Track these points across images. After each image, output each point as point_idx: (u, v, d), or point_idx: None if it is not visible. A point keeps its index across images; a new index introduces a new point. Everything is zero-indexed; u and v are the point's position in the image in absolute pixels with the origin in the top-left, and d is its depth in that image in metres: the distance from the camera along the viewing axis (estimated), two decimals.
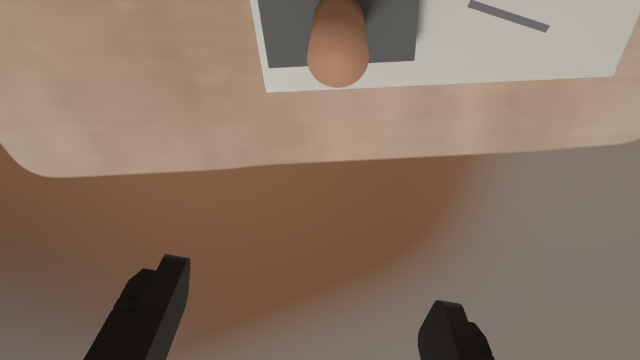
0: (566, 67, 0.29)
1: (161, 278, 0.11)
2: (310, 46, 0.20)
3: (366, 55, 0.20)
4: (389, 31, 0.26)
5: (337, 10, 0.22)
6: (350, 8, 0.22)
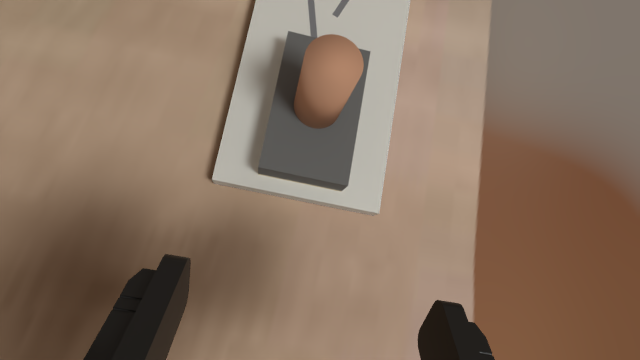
0: None
1: (161, 278, 0.11)
2: (315, 82, 0.20)
3: (336, 36, 0.21)
4: None
5: (299, 77, 0.23)
6: None
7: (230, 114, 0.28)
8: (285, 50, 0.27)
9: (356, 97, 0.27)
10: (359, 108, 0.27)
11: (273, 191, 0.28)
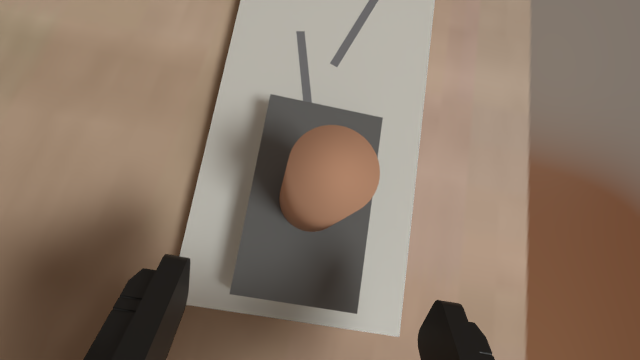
0: None
1: (161, 278, 0.11)
2: (306, 204, 0.13)
3: (337, 128, 0.14)
4: None
5: (283, 177, 0.16)
6: None
7: (194, 207, 0.21)
8: (267, 121, 0.20)
9: None
10: None
11: (254, 313, 0.20)
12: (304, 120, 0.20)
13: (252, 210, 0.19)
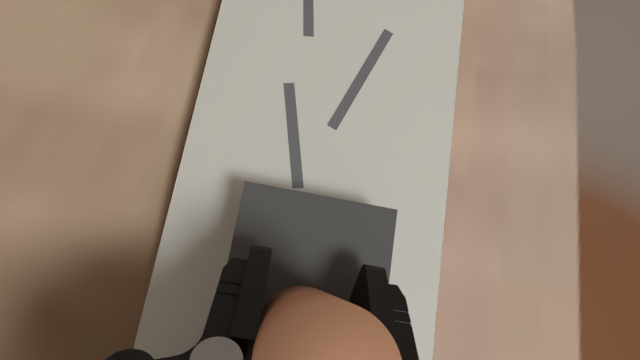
0: (447, 8, 0.21)
1: (254, 265, 0.12)
2: None
3: (334, 305, 0.08)
4: (339, 245, 0.15)
5: None
6: (265, 312, 0.12)
7: (142, 330, 0.15)
8: (239, 220, 0.15)
9: None
10: None
11: None
12: (291, 216, 0.15)
13: None
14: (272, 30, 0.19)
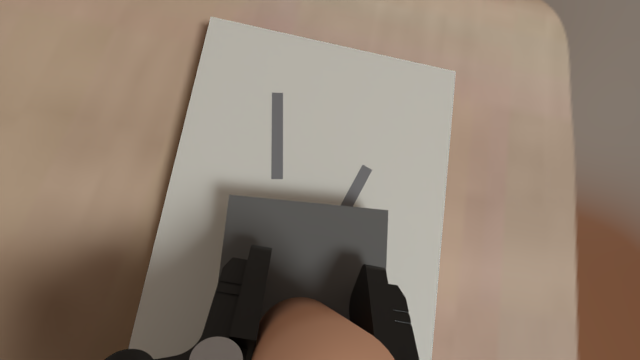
0: (432, 135, 0.19)
1: (253, 265, 0.12)
2: None
3: (327, 327, 0.08)
4: (332, 252, 0.14)
5: None
6: (260, 332, 0.11)
7: None
8: (227, 236, 0.14)
9: None
10: None
11: None
12: (280, 227, 0.14)
13: None
14: (236, 174, 0.17)
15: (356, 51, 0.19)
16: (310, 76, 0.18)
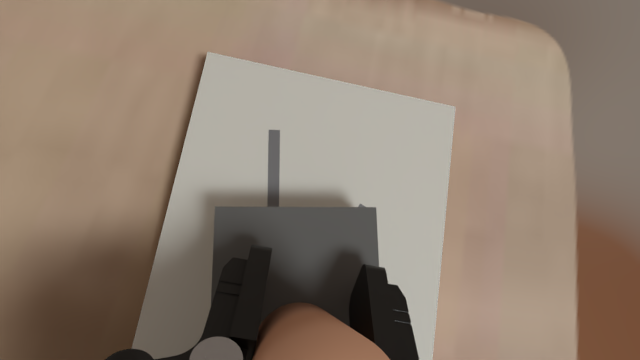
0: (431, 172, 0.18)
1: (254, 265, 0.12)
2: None
3: (320, 334, 0.08)
4: (323, 254, 0.14)
5: None
6: (256, 343, 0.11)
7: None
8: (216, 249, 0.14)
9: None
10: None
11: None
12: (269, 234, 0.14)
13: None
14: None
15: (354, 86, 0.19)
16: (308, 112, 0.18)
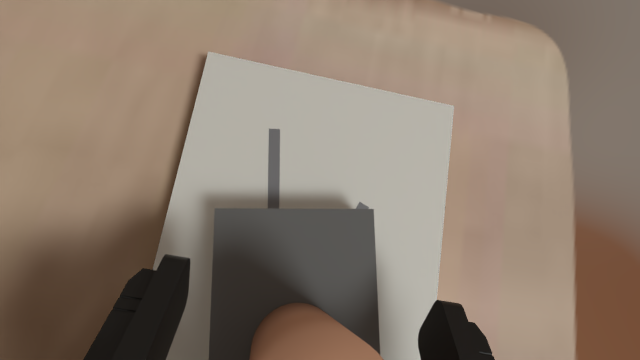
0: (430, 171, 0.18)
1: (161, 278, 0.11)
2: None
3: (316, 336, 0.08)
4: (321, 255, 0.15)
5: None
6: (255, 343, 0.11)
7: None
8: (216, 250, 0.14)
9: (366, 308, 0.14)
10: (376, 330, 0.14)
11: None
12: (268, 236, 0.15)
13: None
14: None
15: (354, 86, 0.19)
16: (307, 112, 0.18)
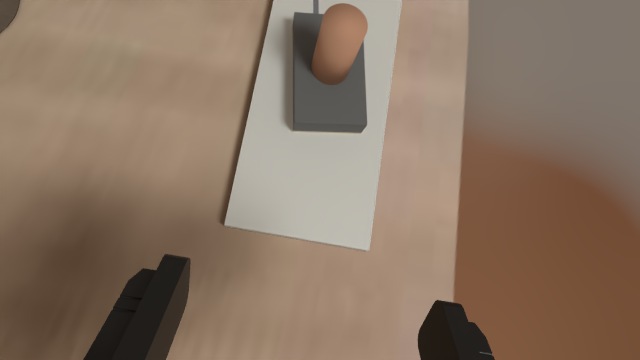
0: (391, 14, 0.38)
1: (161, 278, 0.11)
2: (335, 41, 0.27)
3: (342, 4, 0.28)
4: None
5: (316, 43, 0.30)
6: None
7: (239, 167, 0.33)
8: (295, 28, 0.34)
9: (359, 55, 0.34)
10: (363, 63, 0.34)
11: (277, 233, 0.32)
12: (317, 24, 0.34)
13: (297, 77, 0.33)
14: None
15: None
16: None
